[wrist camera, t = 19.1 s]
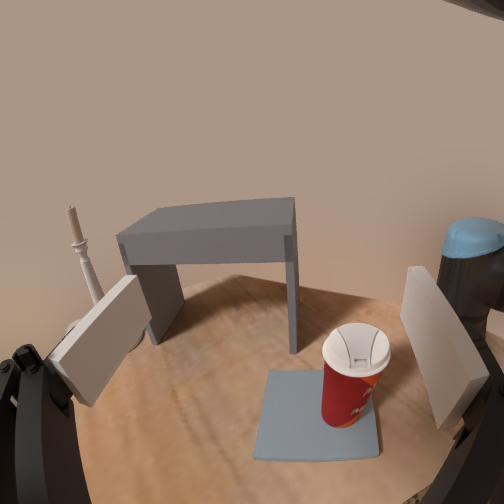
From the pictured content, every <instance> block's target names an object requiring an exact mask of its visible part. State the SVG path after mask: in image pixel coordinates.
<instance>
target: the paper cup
mask: <svg viewBox="0 0 504 504" xmlns="http://www.w3.org/2000/svg"><path fill="white" fill-rule="evenodd" d="M323 357H324V359H325V364H324V379H323V392H322V405H321V415H322V418H323V420H324V421H325V422H326V423H327V424H328V425H330V426H332V427H335V428H346V427H349V426H351V425H353V424H354V423H355V422H356V421H357V420H358V418H359V417H360V415H361V413H362V411H363V409H364V408H365V406H366V404H367V402H368V400H369V398H370V396H371V394H372V392H373V390H374V388H375V386H376V383H377V381H378V379H379V377H380V375H381V372H382V370H383V369H384V368H385V367H386V366H387V364H388V363H389V360H390V357H391V350H390V347H389V341H388V339H387V337H386V335H385V334H384V333H383V332H382V331H381V330H379V329H378V328H376V327H374V326H371V325H368V324H364V323H349V324H345V325H342V326H340V327H338V328H336V329H334V330H333V331H332V332H331V334H330V335H329V337H328V338H327V339H326V341H325V342H324V345H323Z"/></svg>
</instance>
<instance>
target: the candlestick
mask: <svg viewBox="0 0 504 504" xmlns="http://www.w3.org/2000/svg"><path fill="white" fill-rule="evenodd" d="M66 214H67V218H68V222H69V226H70V229H71V233H72V236H73V240H74V243H73V244H72V245H71V246H73V247H74V248H75V252H76V253H77V254H79V256H80V259H81V261H80V263H81V265H82V268H83V272H84V275H85V278H86V282H87V285H88V288H89V291H90V294H91V297H92V300H93V302H94V305H96V304H97V303H98V302H99V301H100V300H101V299H102V298H103V297H104V296H105V295H104V293H103V291H102V288H101V286H100V284H99V281H98V279H97V277H96V274H95V272H94V269H93V267H92V264H91V261H90V258H89V257H88V256H87V249H88V247H87V245H86V242H87V240H88V239H83V236H82V232H81V229H80V225H79V221H78V218H77V213H76V209H75V207H71V208H68V209H66ZM142 335H143V332H142V333H141V334H140V336H139V337H138V339H137V340H136V342H135V343H134V344H133V346H132V347H131V349H130V350H129V352H130V351H131V350H133V349H134V348H135V347H136V346H137V345H138V344H139V342H140V341H141V339H142Z"/></svg>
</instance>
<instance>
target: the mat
mask: <svg viewBox="0 0 504 504" xmlns="http://www.w3.org/2000/svg"><path fill="white" fill-rule="evenodd" d="M323 379H324V370H320V371H275V370H269V374H268V380H267V385H266V391H265V396H264V402H263V407H262V413H261V418H260V423H259V428H258V434H257V439H256V444H255V449H254V453H253V459H255V460H267V461H286V462H325V461H344V460H356V459H366V458H374V457H378V455H379V447H378V437H377V428H376V420H375V413H374V406H373V399H372V394H371V396H370V398H369V400H368V402H367V404H366V406H365V408H364V409H363V411H362V413H361V415H360V417H359V418H358V420H357V421H356V422H355V423H354V424H353V425H351V426H349V427H346V428H335V427H332V426H330V425H328V424H327V423H326V422H325V421H324V420H323V418H322V415H321V405H322V392H323Z"/></svg>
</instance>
